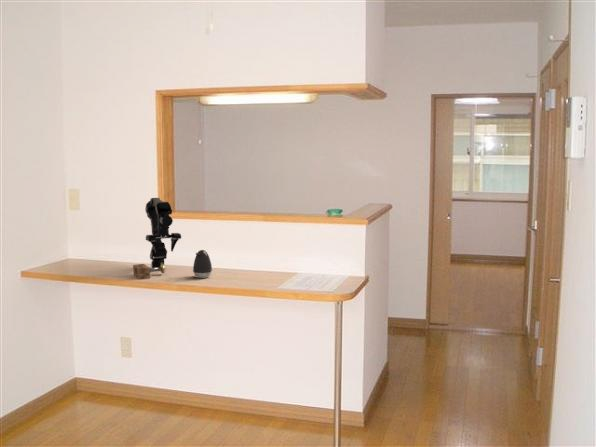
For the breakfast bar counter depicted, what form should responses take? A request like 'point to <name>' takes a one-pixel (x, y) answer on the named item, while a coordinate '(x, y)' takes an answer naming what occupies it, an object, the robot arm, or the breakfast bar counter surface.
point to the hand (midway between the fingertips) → (164, 252)
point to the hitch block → (141, 271)
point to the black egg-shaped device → (202, 265)
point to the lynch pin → (158, 268)
